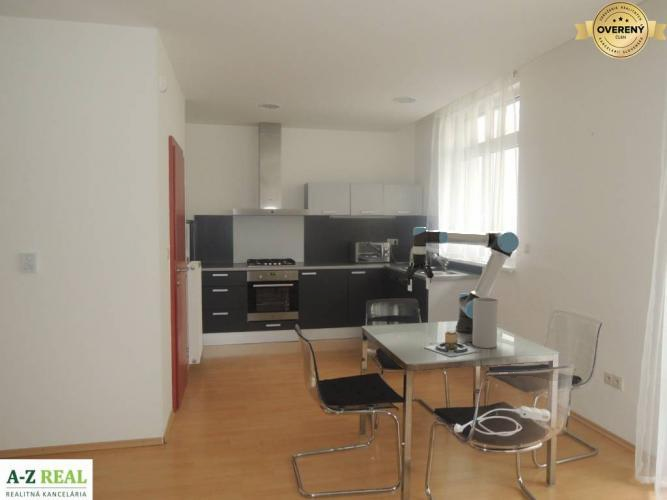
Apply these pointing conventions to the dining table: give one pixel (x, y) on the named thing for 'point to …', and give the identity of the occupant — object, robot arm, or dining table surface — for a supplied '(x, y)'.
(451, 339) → the piston
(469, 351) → the ring plate
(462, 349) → the piston ring
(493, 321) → the cylinder vase
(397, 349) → the dining table surface
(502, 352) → the dining table surface
